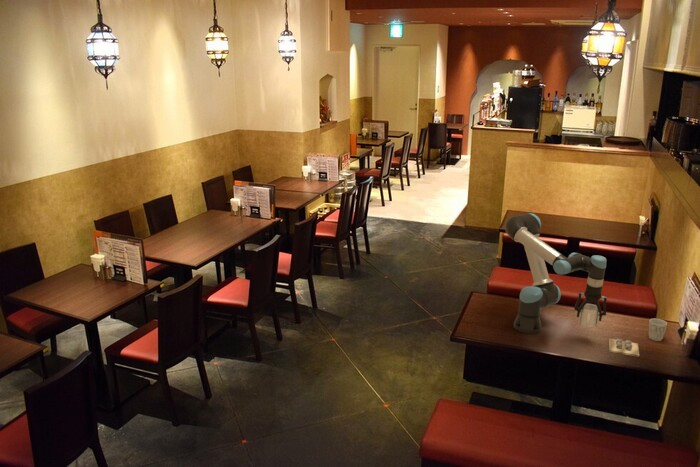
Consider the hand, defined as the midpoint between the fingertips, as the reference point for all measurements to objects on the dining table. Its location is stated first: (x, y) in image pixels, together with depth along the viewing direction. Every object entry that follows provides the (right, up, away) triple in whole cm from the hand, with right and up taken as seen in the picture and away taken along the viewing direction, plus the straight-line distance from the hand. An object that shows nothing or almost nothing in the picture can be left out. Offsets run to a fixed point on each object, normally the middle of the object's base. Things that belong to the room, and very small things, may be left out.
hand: (587, 324), depth 298 cm
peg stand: (+17, -12, -4) cm, 21 cm away
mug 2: (+41, -9, +8) cm, 42 cm away
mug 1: (0, -1, 0) cm, 1 cm away
